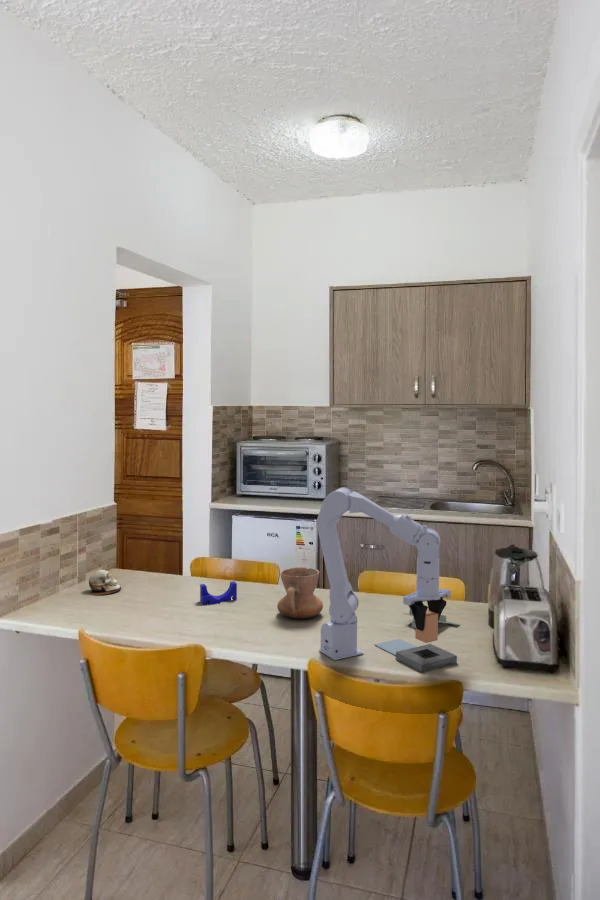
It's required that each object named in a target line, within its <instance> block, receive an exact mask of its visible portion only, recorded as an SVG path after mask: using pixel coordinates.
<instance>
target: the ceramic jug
mask: <svg viewBox="0 0 600 900" xmlns="http://www.w3.org/2000/svg"><path fill="white" fill-rule="evenodd" d="M279 574H280V578H281V582H282V585H283V588H284V589H285V592H286V595H284V596H283V597H282V598H280V599H279V600H278V602H277V604H276V607H277V611H278V612H279V613H280V614H281V615H283V616H285V617H287V618H291V619H297V620H302V619H305V620H306V619H310V618H314V617H316V616H318V615H319V614H320V613H321V612H322V610H323V608H324V604H323V601H322V600H321V598H319V597H318V596H316V595H315V594H314V592H315V590H316V587H317V585H318V581H319V577H320V571H319V570H318V569H316V568H313V567H308V568H307V567H305V566H295V567H294V566H293V567H290V568H289V567H288V568H285V569H283V570H281V571H280V572H279Z"/></svg>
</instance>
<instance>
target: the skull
mask: <svg viewBox="0 0 600 900" xmlns="http://www.w3.org/2000/svg"><path fill="white" fill-rule="evenodd" d="M88 586H89V588H90V590H91V591H90V592H89V593H88V595H91V596H100V595H109V594H113V593H117V592H118V591H120V590H122V586H120V584H118V580H117V579H115V577H114V576H113V574H110V573H109V571H108V570H107V569H106V570H105V569H99V570H97V571H95V572H94V573H92V574H91V575H90V576H89V579H88Z"/></svg>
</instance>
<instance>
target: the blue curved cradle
mask: <svg viewBox="0 0 600 900" xmlns="http://www.w3.org/2000/svg"><path fill="white" fill-rule="evenodd" d="M199 586H200V587H199V593H200V595H199V601H201V602H200V603H201V604H202V605H203V606H205V605H207V604H208V605H215V603H218V604H221V603H223V602H222V601H224V602H232V601H231V598H232V599H233V600H234V601H237V600H238V597H237V596H238V588H237V586H238V585H237V582H236V581H230V582H229V586H228V588H227V590H226V591H225V592H224V593H222V594H220V595H213V594H211V593H210V592H208V587H207V585H206V584H205V583H200V584H199ZM229 600H230V601H229Z"/></svg>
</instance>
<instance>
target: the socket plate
mask: <svg viewBox="0 0 600 900" xmlns="http://www.w3.org/2000/svg"><path fill="white" fill-rule="evenodd" d="M425 657H428V658H425ZM395 660H396V661H398V662H400V663H402V664H404V665H406V666H408V667H410V668H412V669H414V670H416V671H417V672H420V673H421V674H422V673H426V672H429V671H432V670H433V671H434V670H436V669H441V668H444V667H448V666H451V665H455V664H458V663H457V662H458V655H456V654H454V653H452V652H451V651H450V652H449V651H447V650H445V649H443V648H441V647H439V646H436V645H434V644H432V643H429V644H427V643H426V644H424V645H419V646H416V647H415V648H410V649H406V650H402V651H398V652H396V656H395Z"/></svg>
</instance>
